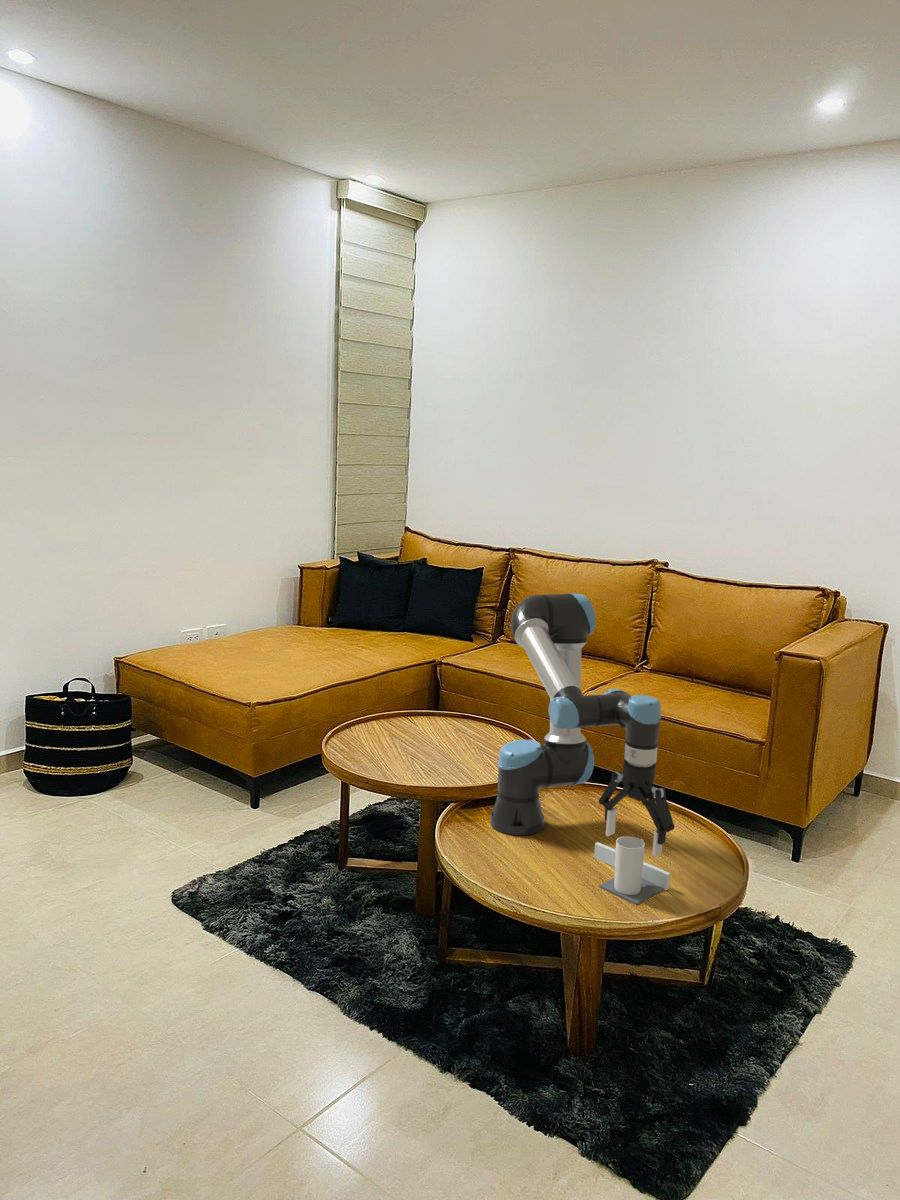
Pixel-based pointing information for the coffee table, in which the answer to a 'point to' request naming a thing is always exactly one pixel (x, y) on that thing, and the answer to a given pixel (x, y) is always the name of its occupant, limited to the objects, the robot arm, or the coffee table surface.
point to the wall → (648, 872)
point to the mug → (629, 865)
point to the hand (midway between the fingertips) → (632, 844)
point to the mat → (645, 893)
